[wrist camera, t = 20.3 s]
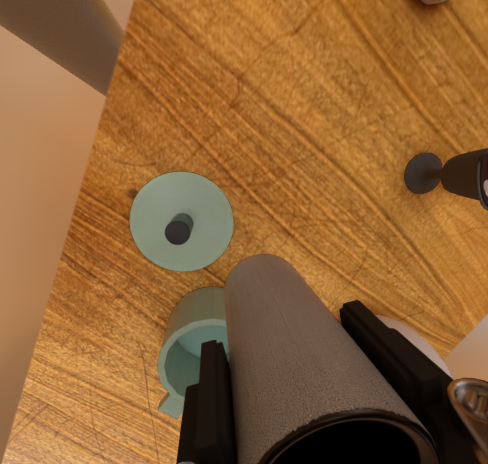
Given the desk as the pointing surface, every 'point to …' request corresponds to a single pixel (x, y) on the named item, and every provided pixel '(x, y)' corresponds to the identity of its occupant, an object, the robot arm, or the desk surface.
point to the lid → (181, 221)
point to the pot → (189, 343)
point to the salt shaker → (433, 1)
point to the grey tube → (307, 379)
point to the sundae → (451, 174)
